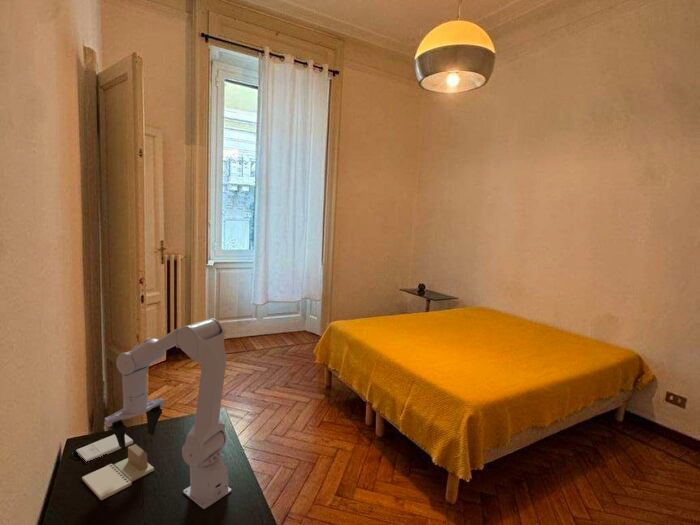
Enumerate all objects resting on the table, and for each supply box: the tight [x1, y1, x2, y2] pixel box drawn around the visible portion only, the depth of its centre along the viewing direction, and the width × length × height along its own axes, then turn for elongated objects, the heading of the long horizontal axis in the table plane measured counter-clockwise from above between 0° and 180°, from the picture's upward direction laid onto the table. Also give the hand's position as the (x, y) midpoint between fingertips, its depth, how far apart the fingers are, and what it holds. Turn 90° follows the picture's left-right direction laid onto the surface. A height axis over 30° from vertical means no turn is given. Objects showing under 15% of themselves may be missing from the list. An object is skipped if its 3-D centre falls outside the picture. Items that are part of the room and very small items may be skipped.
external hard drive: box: [75, 433, 134, 463], centre depth 113 cm, size 2×8×12 cm
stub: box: [113, 443, 155, 483], centre depth 103 cm, size 10×6×5 cm, turn 54°
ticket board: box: [81, 463, 132, 501], centre depth 98 cm, size 12×7×1 cm, turn 54°
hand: (136, 440), depth 103 cm, fingers open, 7 cm apart
